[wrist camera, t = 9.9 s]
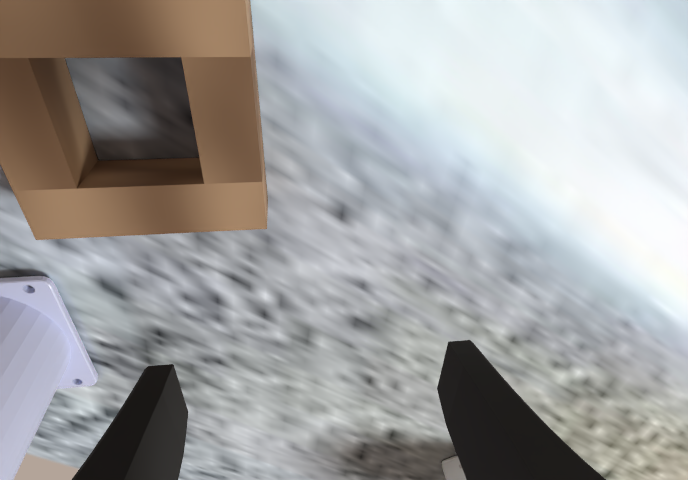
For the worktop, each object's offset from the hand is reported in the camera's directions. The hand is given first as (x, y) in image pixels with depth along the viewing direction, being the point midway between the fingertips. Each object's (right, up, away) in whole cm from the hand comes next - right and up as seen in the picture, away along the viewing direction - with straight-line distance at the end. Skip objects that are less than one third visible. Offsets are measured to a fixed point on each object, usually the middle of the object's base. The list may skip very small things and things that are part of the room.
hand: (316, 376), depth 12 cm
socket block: (-7, +9, +5) cm, 13 cm away
